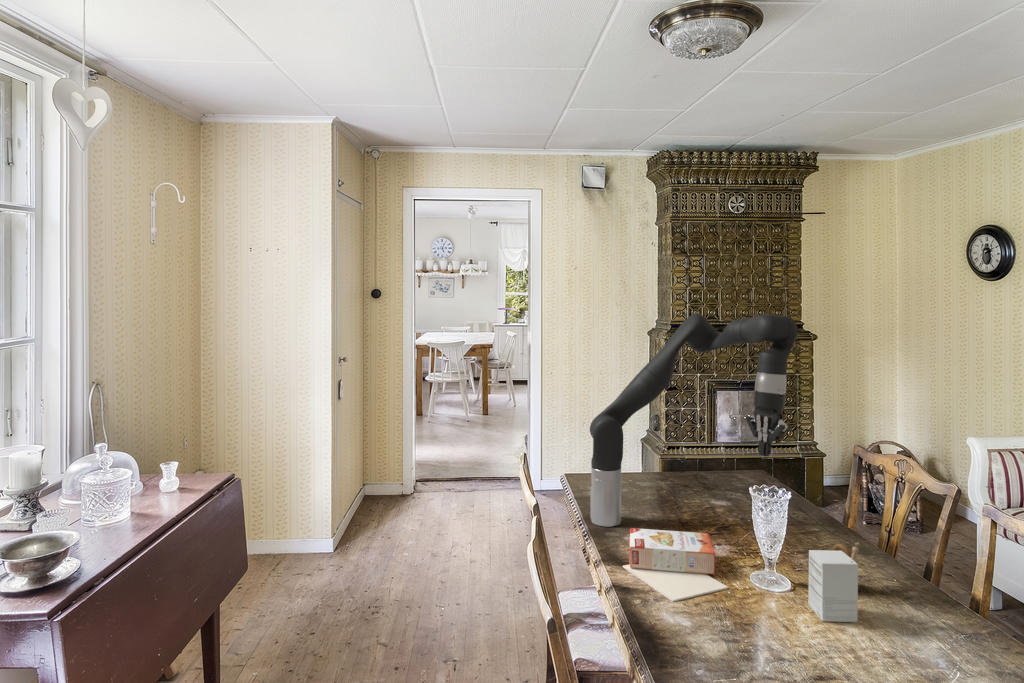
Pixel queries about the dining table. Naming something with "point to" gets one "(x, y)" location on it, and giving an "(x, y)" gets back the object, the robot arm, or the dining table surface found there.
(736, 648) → the dining table surface
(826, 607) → the supplement box
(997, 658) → the dining table surface
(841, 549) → the snail figurine
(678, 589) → the cream placemat
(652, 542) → the cracker box
